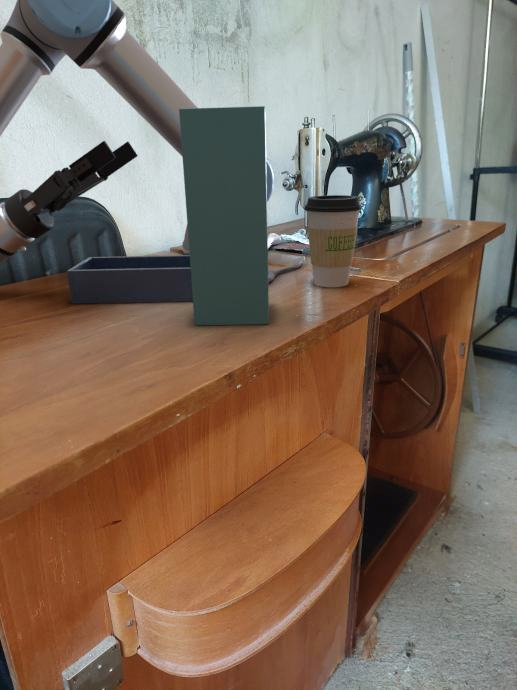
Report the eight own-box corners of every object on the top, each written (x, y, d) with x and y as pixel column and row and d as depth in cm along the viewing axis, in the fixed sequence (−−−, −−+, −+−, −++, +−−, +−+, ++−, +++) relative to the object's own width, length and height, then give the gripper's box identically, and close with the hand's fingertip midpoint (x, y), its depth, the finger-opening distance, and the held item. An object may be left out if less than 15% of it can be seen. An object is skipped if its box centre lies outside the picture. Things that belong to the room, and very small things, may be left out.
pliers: (301, 257, 111) (301, 280, 92) (301, 261, 111) (301, 285, 92) (256, 258, 111) (247, 280, 93) (256, 262, 112) (247, 285, 93)
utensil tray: (214, 284, 95) (213, 254, 93) (208, 301, 85) (206, 268, 83) (93, 286, 96) (88, 257, 94) (71, 303, 85) (66, 271, 83)
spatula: (270, 264, 108) (270, 251, 107) (251, 264, 108) (250, 251, 107) (281, 243, 134) (281, 232, 133) (266, 243, 134) (266, 232, 133)
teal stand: (268, 305, 81) (265, 110, 71) (268, 324, 73) (264, 106, 63) (202, 307, 81) (189, 113, 71) (194, 325, 73) (178, 108, 63)
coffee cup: (357, 290, 88) (361, 200, 83) (300, 289, 90) (300, 200, 85) (359, 277, 97) (362, 194, 92) (307, 276, 99) (307, 195, 94)
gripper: (62, 228, 99) (152, 167, 95) (-1, 254, 76) (114, 174, 71) (37, 194, 97) (127, 129, 92) (-36, 209, 73) (80, 124, 69)
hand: (122, 148), depth 82 cm, fingers open, 13 cm apart
